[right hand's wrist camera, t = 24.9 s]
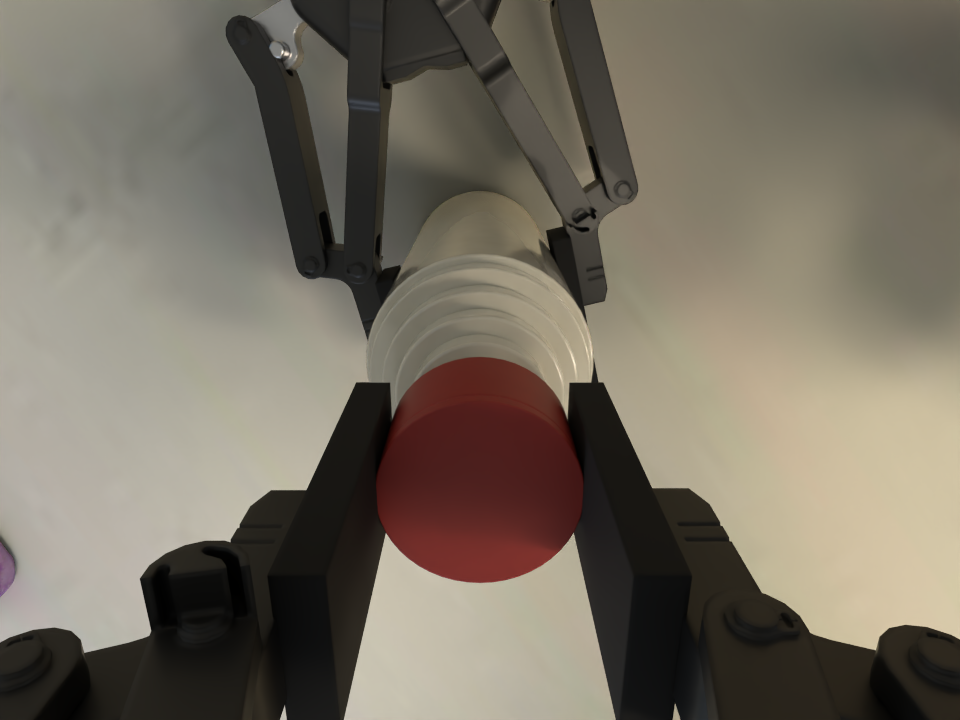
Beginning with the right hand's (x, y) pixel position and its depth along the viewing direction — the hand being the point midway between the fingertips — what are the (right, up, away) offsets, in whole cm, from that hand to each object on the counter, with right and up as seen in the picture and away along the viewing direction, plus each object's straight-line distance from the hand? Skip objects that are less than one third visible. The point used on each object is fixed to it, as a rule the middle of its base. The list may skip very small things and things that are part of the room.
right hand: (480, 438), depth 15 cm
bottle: (0, +7, +20) cm, 21 cm away
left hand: (+1, 0, +15) cm, 15 cm away
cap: (0, -1, -2) cm, 2 cm away
